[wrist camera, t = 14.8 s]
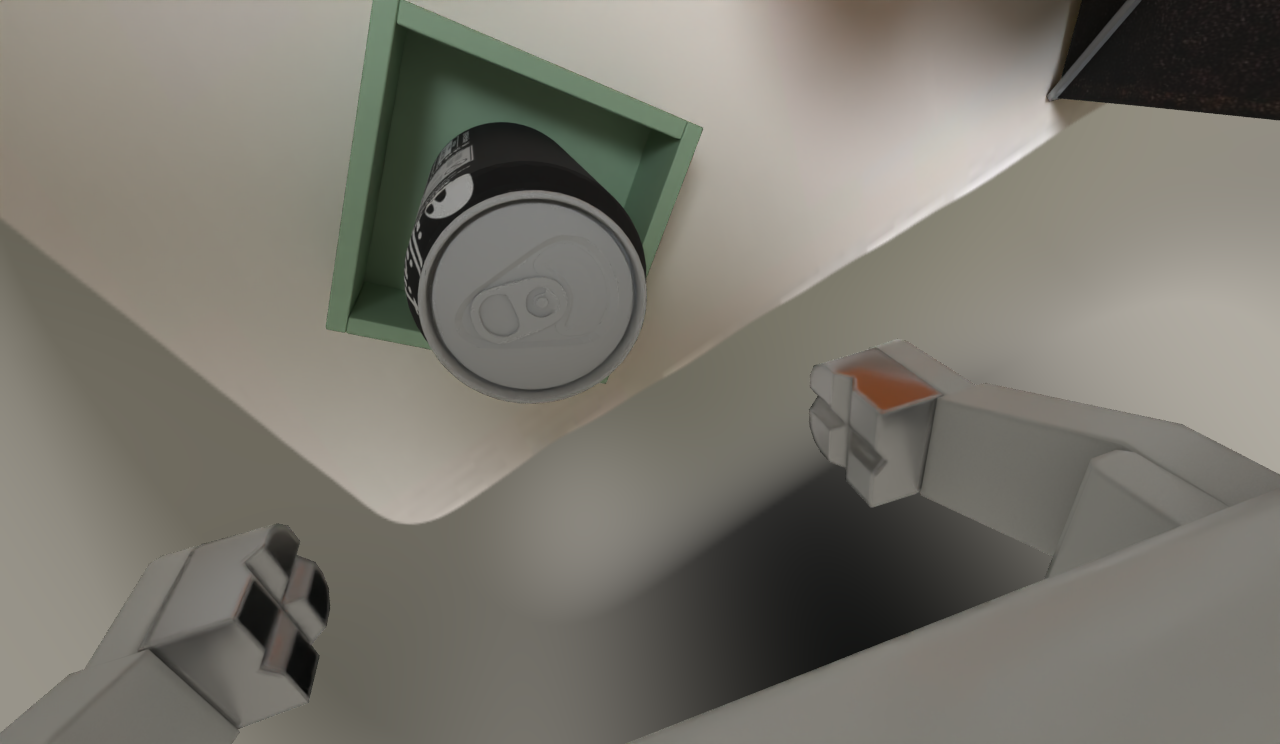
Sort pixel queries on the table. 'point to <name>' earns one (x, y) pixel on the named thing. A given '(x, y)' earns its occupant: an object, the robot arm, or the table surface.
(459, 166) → the beverage can
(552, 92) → the bin
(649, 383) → the table surface
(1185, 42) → the book
